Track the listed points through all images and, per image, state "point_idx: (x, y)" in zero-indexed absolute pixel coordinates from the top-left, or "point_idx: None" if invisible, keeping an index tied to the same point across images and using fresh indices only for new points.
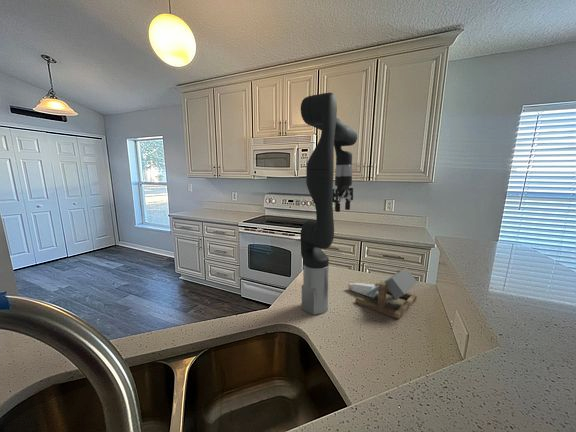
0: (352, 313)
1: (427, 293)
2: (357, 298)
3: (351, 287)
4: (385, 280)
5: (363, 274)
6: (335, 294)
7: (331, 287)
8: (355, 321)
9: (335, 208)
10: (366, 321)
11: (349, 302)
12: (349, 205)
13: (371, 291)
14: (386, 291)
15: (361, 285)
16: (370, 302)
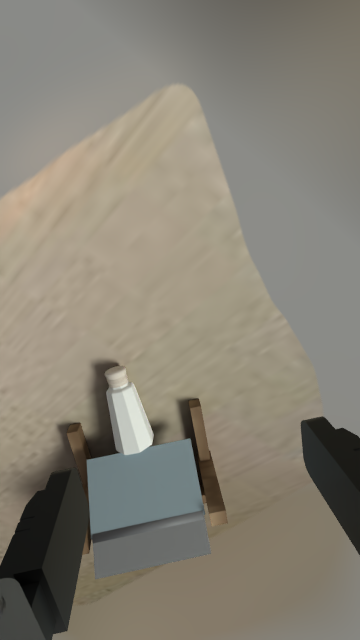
0: (22, 453)
1: (273, 485)
2: (68, 438)
3: (108, 383)
4: (178, 468)
5: (254, 312)
6: (53, 363)
7: (75, 322)
8: (4, 477)
9: (24, 522)
10: (28, 488)
11: (56, 415)
12: (339, 514)
13: (88, 480)
14: (194, 432)
15: (117, 421)
16: (82, 467)
